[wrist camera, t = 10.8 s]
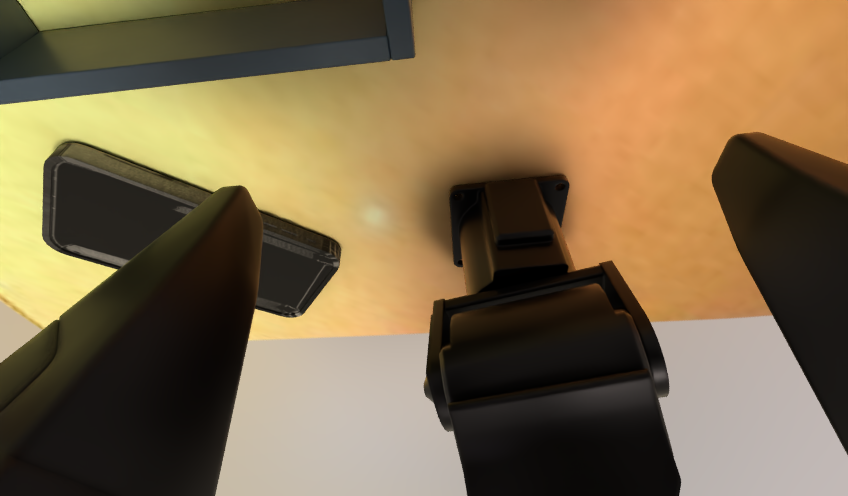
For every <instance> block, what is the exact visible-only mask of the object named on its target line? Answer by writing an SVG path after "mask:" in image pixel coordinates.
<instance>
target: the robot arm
mask: <svg viewBox="0 0 848 496" xmlns="http://www.w3.org/2000/svg"><path fill="white" fill-rule="evenodd" d="M560 183H561V185H560V186H556V185H558V184H560ZM712 184H713V187H714V190H715V192H716V195H717V197H718V200H719V203H720V205H721V208H722V210H723V213H724V216H725V218H726V221H727V223H728V226H729V228H730V231H731V234H732V236H733V239H734V241H735V244H736V246H737V248H738V251H739V253H740V255H741V257H742V259H743V261H744V263H745V265H746V266H747V268H748V270H749V272H750V274H751V276H752V278H753V279H754V281H755V283H756V285H757V287H758V289H759V291H760V292H761V294H762V296H763V298H764V300H765V302H766V304H767V306H768V307H769V309H770V311H771V313H772V315H773V317H774V319H775V320H776V322H777V324H778V326H779V328H780V330H781V331H782V333H783V335H784V337H785V339H786V341H787V343H788V345H789V347H790V348H791V350H792V352H793V354H794V356H795V358H796V360H797V361H798V363H799V365H800V367H801V369H802V371H803V373H804V375H805V376H806V378H807V380H808V382H809V384H810V386H811V388H812V389H813V391H814V393H815V395H816V397H817V399H818V401H819V402H820V404H821V406H822V408H823V410H824V412H825V414H826V416H827V417H828V419H829V421H830V423H831V425H832V427H833V429H834V430H835V432H836V434H837V436H838V438H839V440H840V442H841V443H842V445H843V447H844V449H845V451H846V453H847V455H848V164H845V163H843V162H840V161H837V160H835V159H832V158H829V157H826V156H824V155H821V154H818V153H815V152H813V151H810V150H807V149H805V148H802V147H799V146H796V145H794V144H791V143H788V142H786V141H783V140H780V139H777V138H775V137H772V136H769V135H767V134H764V133H760V132H753V133H744V134H737V135H734V136H733V137H731V138H730V139H729V140H728V142H727V144H726V146H725V148H724V150H723V152H722V154H721V156H720V158H719V160H718V162H717V164H716V166H715V168H714V170H713V173H712ZM568 190H569V182H568V180H567V178H566V177H565V176H563V175H557V176H547V177H537V178H527V179H517V180H507V181H497V182H487V183H477V184H467V185H457V186H454V187H452V188H451V189H450V191H449V200H450V215H451V230H452V245H453V259H454V264H455V265H456V266H457V267H463V268H464V276H465V283H466V291H467V295H466V296H462V297H458V298H453V299H449V300H445V299H441V300H436V301H434V306H433V314H432V315H431V322H430V333H429V344H428V355H427V366H426V379H425V382H424V392H425V395H426V397H427V398H429V399H430V400H431V401H432V402H434V404H435V408H436V411H437V414H438V417H439V419H440V422H441V424H442V426H443V427H444V429H445V430H446V431H448V432H449V431H454V435H455V439H456V443H457V448H458V452H459V456H460V460H461V464H462V468H463V472H464V478H465V484H466V490H467V496H679V493H680V487H681V478H680V475H679V472H678V469H677V466H676V463H675V460H674V456H673V452H672V448H671V444H670V440H669V437H668V433H667V429H666V426H665V422H664V418H663V415H662V411H661V407H660V403H659V400H658V398H660V397H667V396H668V394H669V379H668V373H667V368H666V364H665V361H664V357H663V354H662V351H661V347H660V344H659V342H658V339H657V337H656V334H655V331H654V329H653V327H652V325H651V323H650V321H649V319H648V317H647V315H646V314H645V312H644V310H643V309H642V307H641V306H640V304H639V303H638V301H637V299H636V298H635V296H634V295H633V293H632V292H631V290H630V288H629V287H628V285H627V284H626V282H625V281H624V279H623V277H622V276H621V274H620V273H619V271H618V270H617V268H616V266H615V265H614V263H613V262H612V261H607V262H603V263H599V265H598V266H594V267H589V268H585V269H580V270H576V269H575V266H574V264H573V261H572V258H571V255H570V253H569V250H568V247H567V244H566V242H565V239H564V236H563V234H562V231H561V225H562V220H563V215H564V210H565V205H566V200H567V195H568ZM456 194H461V195H460V196H455V195H456ZM262 238H263V221H262V218H261V215H260V213H259V211H258V209H257V207H256V205H255V204H254V202H253V200H252V198H251V196H250V194H249V192H248V190H247V189H246V188H245V187H243V186H240V185H239V186H229V187H222V188H220V189H219V190H217V191H216V192H215V193H214V194H212V195H211V196H210V197H209V198H207V199H206V200H205V201H204V202H202V203H201V204H200V205H199V206H197V207H196V208H195V209H193V210H192V211H191V212H190V213H188V214H187V215H186V216H185V217H183V218H182V219H181V220H180V221H178V222H177V223H176V224H175V225H173V226H172V227H171V228H170V229H168V230H167V231H166V232H165V233H163V234H162V235H161V236H160V237H158V238H157V239H156V240H155V241H153V242H152V243H151V244H150V245H148V246H147V247H146V248H145V249H143V250H142V251H141V252H140V253H138V254H137V255H136V256H135V257H133V258H132V259H131V260H130V261H128V262H127V263H126V264H125V265H123V266H122V267H121V268H120V269H118V270H117V271H116V272H115V273H113V274H112V275H111V276H110V277H108V278H107V279H106V280H105V281H103V282H102V283H101V284H100V285H98V286H97V287H96V288H95V289H93V290H92V291H91V292H90V293H88V294H87V295H86V296H85V297H83V298H82V299H81V300H80V301H78V302H77V303H76V304H75V305H73V306H72V307H71V308H70V309H68V310H67V311H66V312H65V313H63V314H62V315H61V316H60V318H59V320H55V321H53V322H52V323H51V324H50V325H48V326H47V327H46V328H45V329H43V330H42V331H41V332H40V333H38V334H37V335H36V336H35V337H34V338H32V339H31V340H30V341H28V342H27V343H26V344H24V345H23V346H22V347H21V348H19V349H18V350H17V351H15V352H14V353H13V354H12V355H10V356H9V357H8V358H7V359H5V360H4V361H3V362H2V363H0V496H215V494H216V489H217V484H218V479H219V475H220V470H221V465H222V461H223V456H224V451H225V446H226V441H227V437H228V432H229V427H230V423H231V418H232V413H233V409H234V404H235V399H236V395H237V390H238V385H239V380H240V376H241V371H242V366H243V361H244V357H245V352H246V347H247V343H248V338H249V333H250V329H251V324H252V319H253V314H254V310H255V305H256V299H257V293H258V285H259V273H260V261H261V250H262Z"/></svg>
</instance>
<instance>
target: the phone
mask: <svg viewBox="0 0 848 496" xmlns="http://www.w3.org/2000/svg"><path fill="white" fill-rule="evenodd" d="M211 195H212V194H211V193H208V192H205V191H203V190H200V189H198V188H195V187H192V186H190V185H187V184H185V183H182V182H179V181H177V180H174V179H172V178H169V177H166V176H164V175H161V174H159V173H156V172H153V171H151V170H148V169H145V168H143V167H140V166H138V165H135V164H132V163H130V162H127V161H125V160H122V159H119V158H117V157H114V156H112V155H109V154H106V153H104V152H101V151H98V150H96V149H93V148H91V147H88V146H85V145H82V144H78V143H65V144H62V145H60V146H59V147H58V148H57V149H56V150H55V151H54V152H53V153H52V154H51V155H50V156H49V158H48V159H47V160H46V161H45V163H44V172H43V222H42V236H43V240H44V241H45V242H46V244H47V245H49V246H50V247H51V248H52V249H54V250H56V251H58V252H60V253H63V254H66V255H69V256H73V257H76V258H80V259H83V260H87V261H90V262H94V263H97V264H101V265H104V266H108V267H111V268H115V269H120V268H121V267H122V266H123V265H125V264H126V263H127V262H128V261H130V260H131V259H132V258H133V257H135V256H136V255H137V254H138V253H140V252H141V251H142V250H143V249H145V248H146V247H147V246H148V245H150V244H151V243H152V242H153V241H155V240H156V239H157V238H158V237H160V236H161V235H162V234H163V233H165V232H166V231H167V230H168V229H170V228H171V227H172V226H173V225H175V224H176V223H177V222H178V221H180V220H181V219H182V218H183V217H185V216H186V215H187V214H188V213H190V212H191V211H192V210H193V209H195V208H196V207H197V206H199V205H200V204H201V203H202V202H204V201H205V200H206V199H207V198H209V197H210V196H211ZM259 213H260V212H259ZM260 215H261V218H262V221H263V238H262V250H261V261H260V273H259V285H258V293H257V299H256V305H255V309H258V310H262V311H265V312H269V313H272V314H276V315H279V316H283V317H291V318H293V317H298V316H301V315H302V314H304V313H305V311H306V310H307V309H308V307H309V306H310V305H311V304H312V302H313V301H314V300H315V298H316V297H317V296H318V295H319V293H320V292H321V291H322V289H323V288H324V287H325V286H326V284H327V283H328V282H329V280H330V279H331V278H332V276H333V275H334V274H335V273H336V271H337V270H338V268H339V265H340V256H341V249H340V247H339V245H338V244H337V243H336V242H334V241H332V240H330V239H328V238H325V237H323V236H320V235H318V234H315V233H312V232H310V231H307V230H305V229H302V228H299V227H297V226H294V225H292V224H289V223H286V222H284V221H281V220H279V219H276V218H273V217H271V216H268V215H265V214H263V213H260Z"/></svg>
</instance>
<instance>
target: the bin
mask: <svg viewBox="0 0 848 496" xmlns="http://www.w3.org/2000/svg"><path fill="white" fill-rule="evenodd" d="M414 57H415V42H414V26H413V10H412V0H301V1H293V2H285V3H276V4H268V5H260V6H251V7H243V8H235V9H226V10H218V11H209V12H201V13H193V14H184V15H176V16H168V17H159V18H151V19H143V20H134V21H126V22H118V23H109V24H101V25H93V26H84V27H76V28H68V29H59V30H51V31H43V32H39V31H38V30H37V28H36V27H35V26H34V24H33V23H32V21H31V20H30V19H29V17H28V16H27V15H26V13H25V12H24V10H23V9H22V8H21V6H20V5H19V4H18V2H17V1H16V0H0V105H1V104H10V103H19V102H28V101H37V100H46V99H55V98H63V97H72V96H81V95H90V94H99V93H108V92H117V91H125V90H134V89H143V88H152V87H161V86H170V85H179V84H188V83H196V82H205V81H214V80H223V79H232V78H241V77H250V76H258V75H267V74H276V73H285V72H294V71H303V70H312V69H321V68H329V67H338V66H347V65H356V64H365V63H374V62H383V61H389V60H391V59H392V60H400V59H409V58H414Z"/></svg>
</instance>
